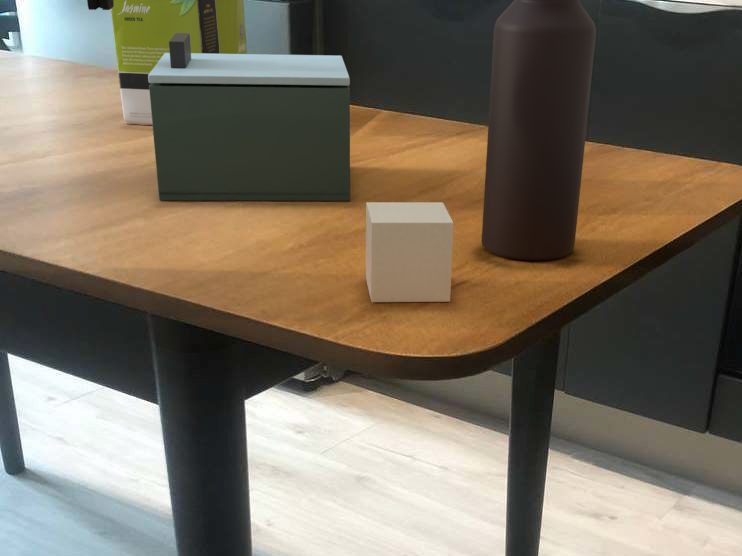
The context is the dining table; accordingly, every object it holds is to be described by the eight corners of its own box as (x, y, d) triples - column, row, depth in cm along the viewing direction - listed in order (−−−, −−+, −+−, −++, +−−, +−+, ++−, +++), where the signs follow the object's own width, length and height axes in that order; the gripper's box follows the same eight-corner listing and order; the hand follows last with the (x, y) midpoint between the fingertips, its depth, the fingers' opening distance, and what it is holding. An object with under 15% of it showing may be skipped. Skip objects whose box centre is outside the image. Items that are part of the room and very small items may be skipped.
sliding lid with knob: (148, 83, 84) (145, 46, 83) (165, 60, 96) (162, 27, 94) (349, 85, 86) (349, 50, 84) (341, 62, 97) (341, 31, 96)
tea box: (171, 102, 130) (160, -36, 122) (252, 107, 128) (246, -33, 121) (120, 124, 117) (104, -30, 109) (209, 129, 115) (199, -26, 108)
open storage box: (159, 200, 89) (148, 85, 84) (173, 164, 100) (165, 62, 96) (350, 201, 90) (349, 88, 86) (342, 165, 102) (341, 65, 97)
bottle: (582, 263, 76) (616, -59, 66) (486, 262, 76) (506, -62, 66) (565, 237, 82) (594, -62, 72) (476, 235, 82) (493, -65, 72)
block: (371, 302, 68) (371, 222, 65) (365, 278, 72) (366, 202, 70) (450, 302, 68) (453, 222, 66) (440, 277, 73) (443, 202, 70)
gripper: (-52, -284, 74) (-6, 11, 83) (170, -275, 76) (192, 14, 85) (-25, -271, 80) (15, 2, 90) (179, -263, 82) (198, 5, 91)
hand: (101, 7), depth 87 cm, fingers closed
